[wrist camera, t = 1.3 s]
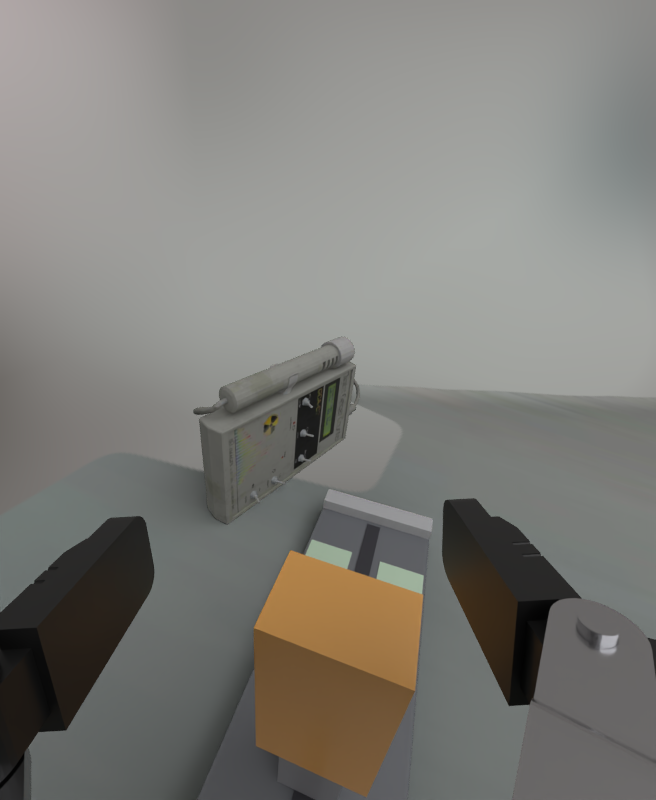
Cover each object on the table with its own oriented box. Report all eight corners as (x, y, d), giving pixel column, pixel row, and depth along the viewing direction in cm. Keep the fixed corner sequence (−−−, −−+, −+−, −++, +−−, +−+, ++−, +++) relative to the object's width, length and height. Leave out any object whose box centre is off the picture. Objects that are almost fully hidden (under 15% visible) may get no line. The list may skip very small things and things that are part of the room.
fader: (352, 827, 17) (415, 691, 10) (256, 780, 18) (253, 627, 11) (365, 747, 20) (423, 595, 13) (280, 710, 21) (290, 550, 14)
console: (374, 1091, 14) (388, 1099, 12) (144, 945, 16) (132, 936, 14) (425, 540, 35) (432, 518, 34) (326, 510, 37) (329, 488, 36)
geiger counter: (225, 405, 27) (391, 331, 45) (175, 376, 30) (349, 317, 48) (232, 533, 34) (373, 425, 52) (190, 498, 37) (337, 408, 55)
